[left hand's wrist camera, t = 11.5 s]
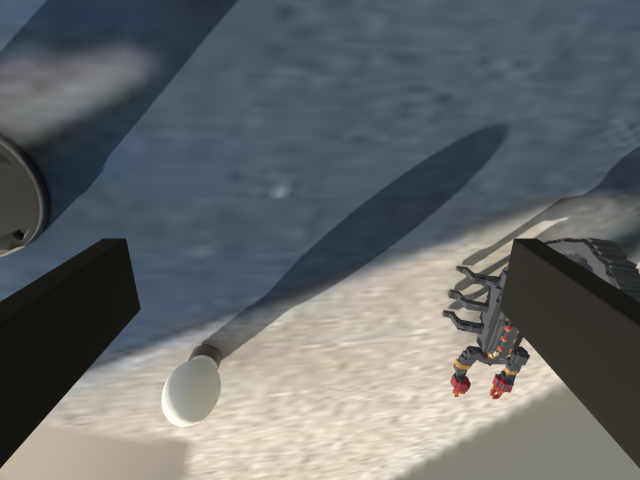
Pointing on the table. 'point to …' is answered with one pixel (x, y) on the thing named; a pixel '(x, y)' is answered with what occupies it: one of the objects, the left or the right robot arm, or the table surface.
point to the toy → (502, 335)
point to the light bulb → (193, 388)
